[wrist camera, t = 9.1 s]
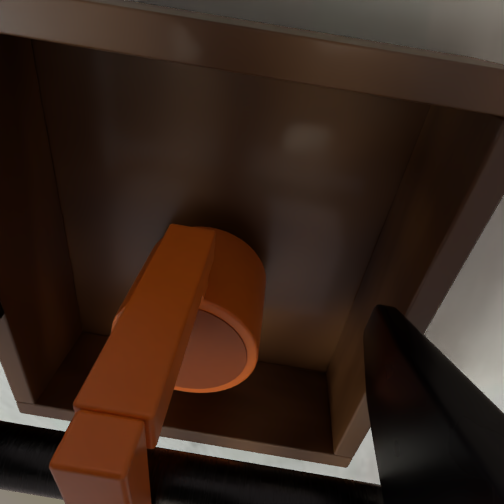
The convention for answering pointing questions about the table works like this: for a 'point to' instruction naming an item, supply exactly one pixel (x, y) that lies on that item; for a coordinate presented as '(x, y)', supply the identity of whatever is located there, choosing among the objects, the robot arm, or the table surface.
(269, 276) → the basket
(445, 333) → the table surface
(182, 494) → the basket handle
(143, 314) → the measuring cup
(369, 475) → the table surface
